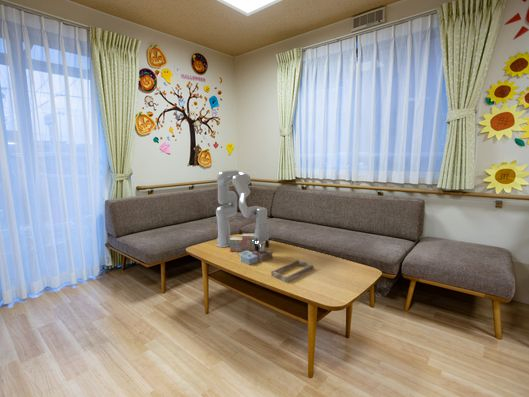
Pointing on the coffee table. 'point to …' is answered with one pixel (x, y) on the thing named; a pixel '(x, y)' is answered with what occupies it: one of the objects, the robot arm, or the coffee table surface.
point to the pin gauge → (261, 248)
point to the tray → (243, 253)
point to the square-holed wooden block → (263, 255)
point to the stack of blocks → (242, 243)
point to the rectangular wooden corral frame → (288, 266)
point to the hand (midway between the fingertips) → (262, 249)
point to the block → (249, 258)
